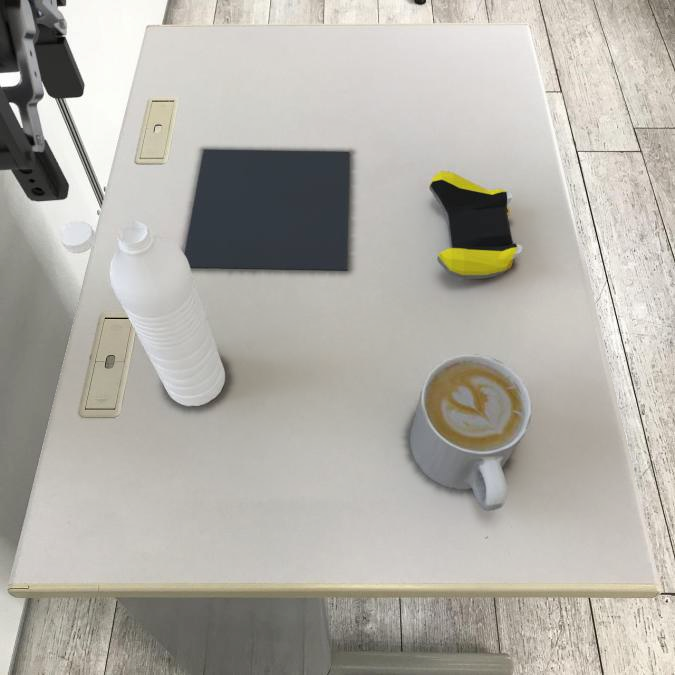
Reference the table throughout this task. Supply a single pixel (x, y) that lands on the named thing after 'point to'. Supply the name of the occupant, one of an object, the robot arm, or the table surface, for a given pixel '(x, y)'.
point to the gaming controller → (474, 227)
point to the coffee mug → (470, 425)
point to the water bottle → (160, 308)
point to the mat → (270, 210)
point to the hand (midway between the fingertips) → (60, 142)
